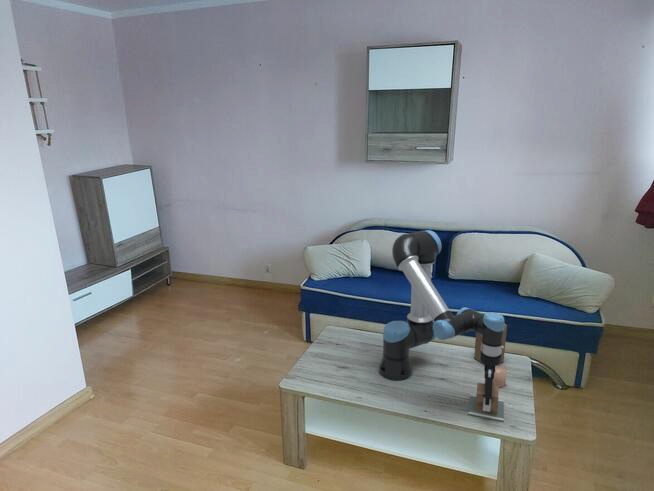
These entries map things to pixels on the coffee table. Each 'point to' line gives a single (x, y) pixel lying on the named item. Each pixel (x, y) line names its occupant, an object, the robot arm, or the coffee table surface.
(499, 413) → the mat
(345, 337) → the coffee table surface
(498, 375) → the pink cylinder
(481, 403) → the cube
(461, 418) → the coffee table surface
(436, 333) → the robot arm
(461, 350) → the coffee table surface
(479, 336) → the wooden block
